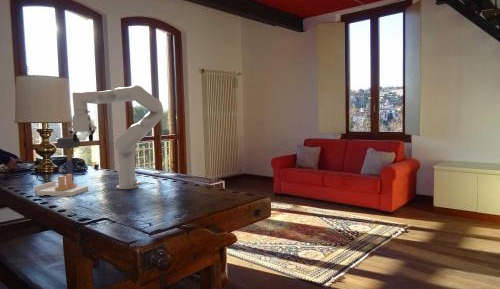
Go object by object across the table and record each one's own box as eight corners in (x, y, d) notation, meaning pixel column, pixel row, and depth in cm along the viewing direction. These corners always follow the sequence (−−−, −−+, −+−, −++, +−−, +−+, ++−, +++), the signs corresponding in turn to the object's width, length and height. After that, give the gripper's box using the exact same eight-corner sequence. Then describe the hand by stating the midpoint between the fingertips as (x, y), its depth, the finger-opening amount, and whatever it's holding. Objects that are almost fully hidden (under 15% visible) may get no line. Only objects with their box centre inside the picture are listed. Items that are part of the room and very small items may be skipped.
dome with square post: (71, 192, 209) (70, 175, 208) (63, 195, 202) (63, 177, 201) (60, 192, 210) (59, 175, 209) (52, 194, 203) (51, 177, 202)
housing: (88, 190, 216) (87, 173, 215) (71, 196, 200) (70, 178, 199) (54, 189, 219) (53, 172, 218) (34, 195, 203) (34, 177, 202)
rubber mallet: (63, 184, 235) (61, 137, 232) (58, 182, 240) (56, 137, 237) (82, 181, 244) (80, 136, 242) (77, 180, 249) (75, 136, 247)
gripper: (98, 112, 219) (100, 140, 221) (70, 113, 221) (73, 141, 222) (91, 112, 212) (93, 141, 213) (63, 113, 213) (65, 142, 215)
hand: (83, 141), depth 218 cm, fingers open, 9 cm apart
